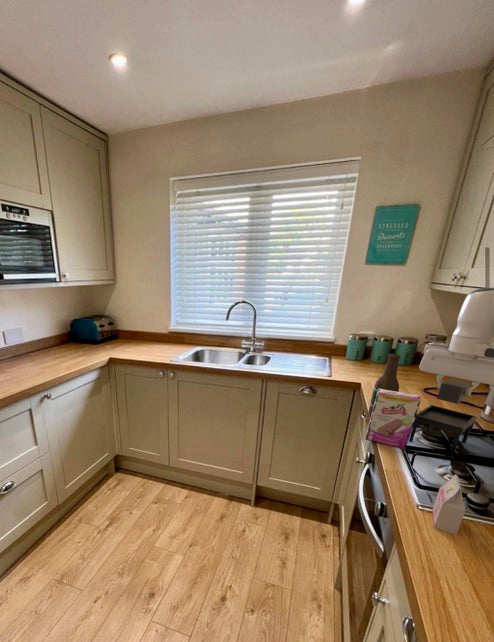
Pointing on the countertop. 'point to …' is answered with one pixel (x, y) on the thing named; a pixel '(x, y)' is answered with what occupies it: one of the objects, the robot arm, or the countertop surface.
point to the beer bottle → (387, 379)
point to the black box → (453, 391)
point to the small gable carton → (449, 506)
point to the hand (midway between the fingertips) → (453, 392)
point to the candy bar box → (392, 418)
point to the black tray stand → (445, 422)
